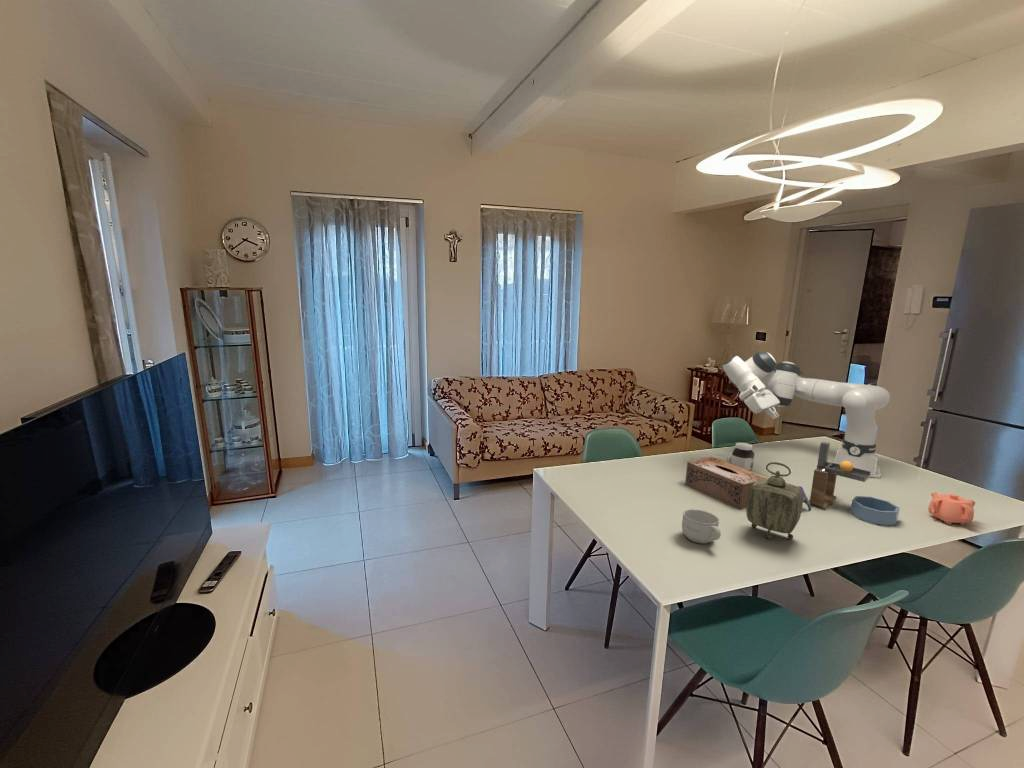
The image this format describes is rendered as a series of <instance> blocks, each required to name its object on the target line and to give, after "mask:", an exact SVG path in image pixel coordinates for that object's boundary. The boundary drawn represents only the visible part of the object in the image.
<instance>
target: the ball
mask: <svg viewBox="0 0 1024 768" xmlns="http://www.w3.org/2000/svg"><path fill="white" fill-rule="evenodd" d="M840 469H841V470H842V471H844V472H850V471H852V470H853V465H852V463H851V462H849V461H843V462H841V464H840Z"/></svg>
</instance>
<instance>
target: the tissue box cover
mask: <svg viewBox="0 0 1024 768" xmlns="http://www.w3.org/2000/svg"><path fill="white" fill-rule="evenodd" d="M686 463H687V464H686V471H685V472H686V473H685V482H684V483H685V485H686V486H688V487H691V488H693V489H694V490H697V491H700V492H701V493H704V494H706V495H708V496H710V497H712V498H715V499H717V500H720V501H721V502H724V503H726V504H728V505H730V506H731V507H732V506H733V507H734V508H736V509H739V510H746V501H747V497H748V492H749V490H750V488H751V486H752V485H753V484H754V483H755V482H756V481H757V480H758V479H759V478H768V479H769V478H770V477H767V476H764V475H763V474H760V473H759V474H758V472H757V473H756V472H754V471H752V470H751V471H749V470H746V469H743V468H741V467H738V466H735V465H733V464H731V463H730V462H728V461H724V460H721V459H719V458H716V457H713V456H709V457H704V458H700V459H694V460H688V461H687V462H686Z"/></svg>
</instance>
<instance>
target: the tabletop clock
mask: <svg viewBox="0 0 1024 768" xmlns="http://www.w3.org/2000/svg"><path fill="white" fill-rule="evenodd" d="M771 465H777V466H782V467H784V468H786V469H787V470H788V473H785V474H784V473H783V474H782V473H780V471H779V470H776V471H775V472H774V471H771V470H770V469H769V468H768V467H769V466H771ZM765 469H766V471H767V472H769V473H770V474H771V476H770V477H768V478H769V479H768V478H759V479H758V480H757V481H756V482H755V483H754V484H753V485H752V486H751V488H750V490H749V492H748V497H747V501H746V508H745V512H746V518H747V521H748V522H750V523H751V527H752V528H755V529H756V528H758V527H759V528H763V529H765V530H767V533H766V534H765V539H767V540H770V539H771V538H772V536H771V531H772V532H777V533H781V534H787V538H788V539H789V540H793V538H794V535H793V534H792V533H793V531H794V530H795V528H796V526H797V524H798V523H799V521H800V519H801V515H802V511H803V505H804V502H803V496H802V491H801V489H800V488H799V487H797V486H798V485H794V484H792V483H789V482H786V480H785V479H784V478H783V477H788V476H790V474H792V471H791V468H790V466H788V465H786V464H784V463H781V462H777V461H771V462H769V463H767V464H766V465H765Z"/></svg>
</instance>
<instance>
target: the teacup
mask: <svg viewBox="0 0 1024 768" xmlns="http://www.w3.org/2000/svg"><path fill="white" fill-rule="evenodd" d="M719 523H720V518H719V517H718V516H717V515H715V514H714V513H712V512H709V511H706V510H702V509H696V508H695V509H694V508H689V509H685V510H684V511H682V521H681V530H682V533H683V534H684V535H685V536H686V537H687V539H688V540H689V541H691V542H693V543H697V544H708V543H711V542H713V541H716V540H719V539H720V538H721V535H722V534H721V533H722V532H721V529H720V528H719Z"/></svg>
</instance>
